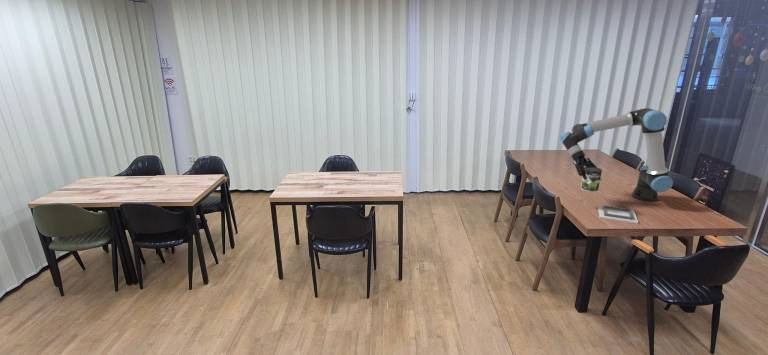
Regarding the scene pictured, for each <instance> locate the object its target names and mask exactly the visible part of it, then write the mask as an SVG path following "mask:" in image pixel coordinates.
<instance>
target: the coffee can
mask: <svg viewBox="0 0 768 355" xmlns="http://www.w3.org/2000/svg"><path fill="white" fill-rule="evenodd" d="M596 167H597V166H596ZM596 167H586V166H584V170H585V174H587V175H588V177H589V178H590V180H591V181H592V183H590V184H587V182H586V181H585V179H584V178H583V177H581V178H582V180H581V183H580V184H581V185H580V190H582V191H584V192H588V193H597V192H599V188H600V182H601V181H600V178H602V172H603V169H602V168H599V167H597V168H596Z"/></svg>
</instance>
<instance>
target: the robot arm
mask: <svg viewBox="0 0 768 355" xmlns="http://www.w3.org/2000/svg"><path fill="white" fill-rule="evenodd" d="M667 123H668V118H667V116H666V114H665V113H664V112H662V111H660V110H656V109H653V108H647V107H646V108H640V109H636V110H632V111H628V112H627V113H625V114H621V115H616V116H612V117H608V118H602V119H597V120H595V121H589V122H586V123H575V124H573V125H572V127H571V128H570V129H571V132H570V131H566V132H564V133H562V134H561V135H560V136H559V139H560V141H561V143H562V145H563V146H564V147H565V149H566V150H567V152H568V154H569V155H570V156H571V158H572V160H573V165H574V167H575V169H576V172H577V174H578V175H579V176H580V177H582V178H584V179H585V181H586V182H587V184H590V183H592V181H591V180H590V178H589V177H588V175H587V174H585V170H584V167H596V168H598V167H597V166H596V165H595V163H593V161H592V160H591V158H589V157H588V158H586V154H585V153H584V151H583V149H582V147H580V144H578V143H580V142H582V141H584V140H587V139H588V138H591V137H593V136H594V135H595V133H598V132H601V131H607V130H612V129H617V128H622V127H627V126H629V127H633V126H641V133H642V134H644V136H645V146H646V153H647V162H648V165H642V166H640V169H639V174H638V179H637V184H636V186H635V188H634V189H633V191H632V193H631V197H633V198H634V199H636V200H640V201H646V202H656V201H657V202H658V200H659V193H664V192H667V191H669V190H670V189H671V188H672V187H673V185H674V181H673V178H671V176H670V171H669V169H668V168H667V167H666V159H665V149H664V141H663V140H664V139H663V132H664V131H665V129H666V128H665V126H666V125H667ZM601 181H603V178H602V177H601V178H600V182H601Z"/></svg>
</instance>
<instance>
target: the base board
mask: <svg viewBox="0 0 768 355" xmlns="http://www.w3.org/2000/svg"><path fill="white" fill-rule="evenodd" d="M597 210H598V217H599V219H603V220H609V221H615V222H616V221H617V222H623V223H629V224H635V225H636V224H637V225H639V220H638V217H637V215H636V212H635V210H633V209H631V208H624V207H618V206H612V205H611V206H609V205H597Z"/></svg>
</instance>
